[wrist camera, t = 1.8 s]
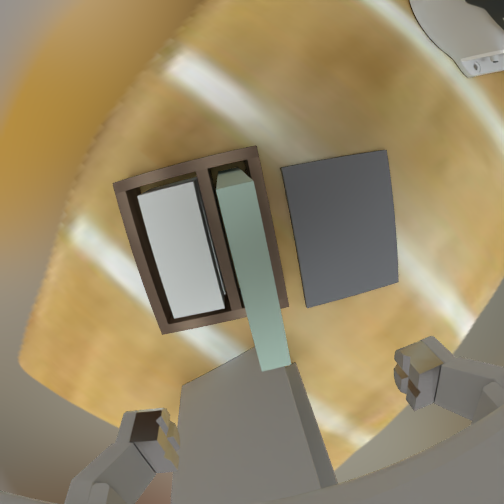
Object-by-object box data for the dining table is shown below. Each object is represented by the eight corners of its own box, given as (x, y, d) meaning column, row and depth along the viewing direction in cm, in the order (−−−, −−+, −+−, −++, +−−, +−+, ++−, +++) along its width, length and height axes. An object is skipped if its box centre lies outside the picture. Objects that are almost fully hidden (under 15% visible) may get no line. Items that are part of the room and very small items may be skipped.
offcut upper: (195, 178, 29) (193, 181, 26) (224, 294, 33) (224, 308, 30) (145, 191, 29) (137, 196, 26) (177, 304, 33) (174, 318, 30)
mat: (384, 149, 33) (386, 150, 32) (396, 280, 38) (398, 282, 37) (280, 167, 32) (281, 168, 32) (305, 305, 37) (307, 308, 37)
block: (237, 166, 32) (253, 180, 17) (261, 275, 36) (291, 364, 20) (218, 171, 32) (215, 189, 17) (244, 279, 36) (261, 371, 20)
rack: (251, 146, 31) (256, 145, 27) (280, 286, 36) (289, 306, 31) (127, 178, 31) (112, 183, 26) (168, 311, 36) (162, 334, 31)
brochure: (206, 409, 41) (211, 615, 13) (181, 386, 39) (166, 609, 11) (296, 363, 40) (372, 584, 11) (274, 335, 38) (348, 584, 10)
